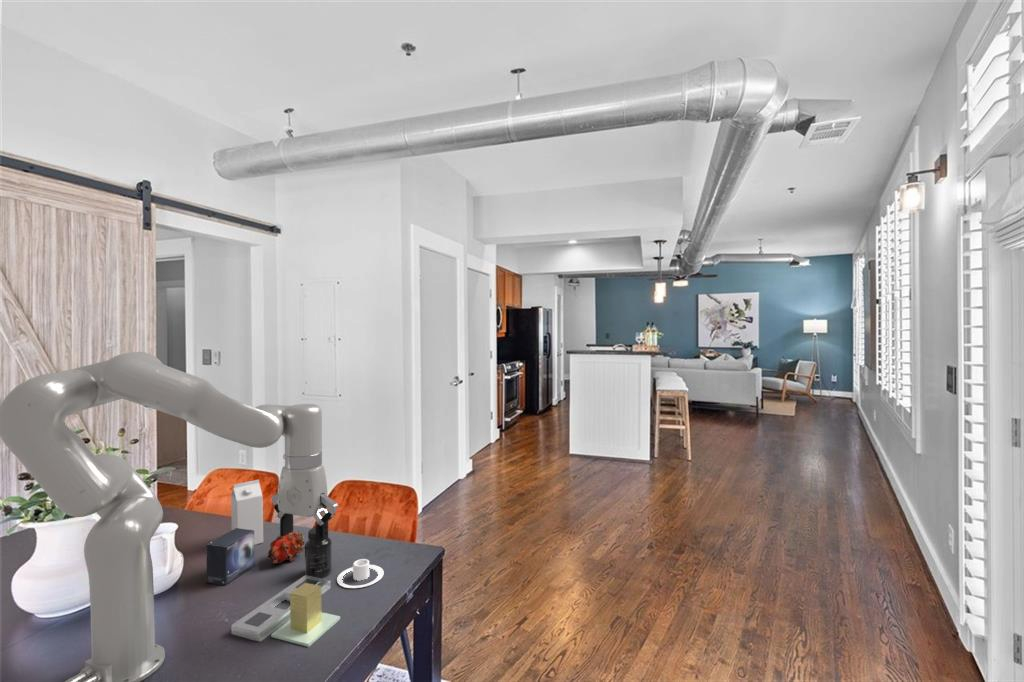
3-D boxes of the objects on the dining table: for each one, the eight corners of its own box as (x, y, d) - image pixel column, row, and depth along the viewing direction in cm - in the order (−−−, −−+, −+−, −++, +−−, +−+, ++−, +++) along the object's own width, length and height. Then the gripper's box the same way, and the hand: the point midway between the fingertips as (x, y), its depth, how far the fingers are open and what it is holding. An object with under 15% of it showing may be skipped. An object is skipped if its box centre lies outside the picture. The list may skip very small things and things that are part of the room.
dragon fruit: (306, 555, 143) (273, 580, 132) (287, 536, 144) (253, 559, 133) (316, 537, 140) (283, 561, 129) (296, 517, 141) (262, 540, 130)
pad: (308, 646, 99) (308, 644, 99) (271, 637, 103) (271, 634, 103) (340, 619, 109) (340, 616, 109) (305, 610, 112) (305, 608, 112)
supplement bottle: (305, 569, 131) (304, 526, 131) (331, 565, 134) (331, 522, 133) (304, 582, 125) (303, 537, 124) (332, 576, 127) (331, 532, 127)
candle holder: (336, 594, 120) (336, 577, 119) (337, 571, 131) (337, 555, 131) (385, 586, 123) (385, 569, 123) (382, 564, 135) (382, 549, 135)
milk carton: (231, 542, 148) (230, 481, 147) (256, 535, 153) (255, 476, 152) (237, 550, 143) (236, 487, 142) (263, 542, 147) (262, 482, 147)
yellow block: (307, 633, 103) (306, 596, 103) (290, 629, 104) (290, 593, 104) (321, 620, 107) (321, 586, 107) (305, 617, 109) (305, 582, 108)
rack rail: (260, 641, 101) (259, 632, 101) (231, 634, 104) (231, 624, 103) (330, 587, 122) (330, 579, 122) (305, 582, 124) (305, 574, 124)
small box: (226, 586, 123) (225, 546, 122) (205, 583, 124) (204, 544, 124) (256, 566, 133) (255, 529, 133) (236, 563, 134) (235, 527, 134)
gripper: (259, 461, 104) (260, 538, 104) (323, 469, 98) (324, 551, 99) (285, 453, 111) (286, 525, 112) (347, 460, 106) (347, 536, 106)
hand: (304, 537), depth 105 cm, fingers open, 9 cm apart
